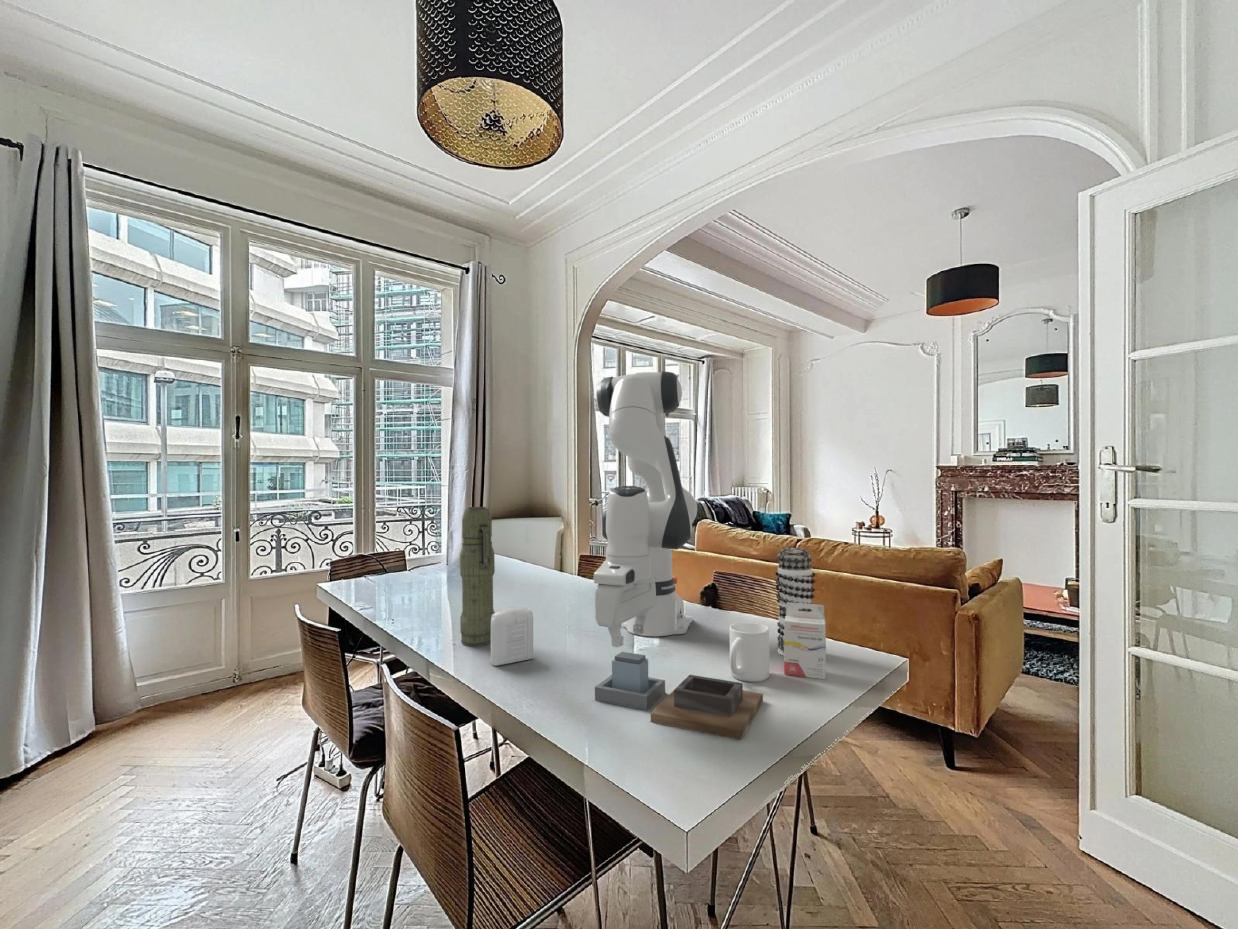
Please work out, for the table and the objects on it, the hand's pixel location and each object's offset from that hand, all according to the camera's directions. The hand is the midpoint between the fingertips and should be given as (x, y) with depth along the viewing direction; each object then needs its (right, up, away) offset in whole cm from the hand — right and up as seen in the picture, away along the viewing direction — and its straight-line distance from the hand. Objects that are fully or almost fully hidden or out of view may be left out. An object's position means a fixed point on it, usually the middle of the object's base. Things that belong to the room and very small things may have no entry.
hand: (628, 639), depth 111 cm
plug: (0, -11, 0) cm, 11 cm away
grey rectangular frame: (0, -11, 0) cm, 11 cm away
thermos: (-39, -12, +38) cm, 56 cm away
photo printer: (-27, -12, +22) cm, 37 cm away
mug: (+25, -11, +9) cm, 29 cm away
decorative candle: (+41, -11, +25) cm, 49 cm away
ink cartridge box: (+38, -11, +12) cm, 42 cm away
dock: (+15, -11, -7) cm, 20 cm away
